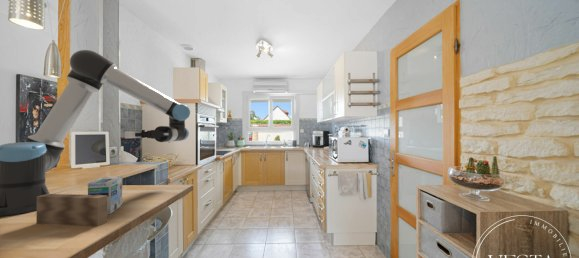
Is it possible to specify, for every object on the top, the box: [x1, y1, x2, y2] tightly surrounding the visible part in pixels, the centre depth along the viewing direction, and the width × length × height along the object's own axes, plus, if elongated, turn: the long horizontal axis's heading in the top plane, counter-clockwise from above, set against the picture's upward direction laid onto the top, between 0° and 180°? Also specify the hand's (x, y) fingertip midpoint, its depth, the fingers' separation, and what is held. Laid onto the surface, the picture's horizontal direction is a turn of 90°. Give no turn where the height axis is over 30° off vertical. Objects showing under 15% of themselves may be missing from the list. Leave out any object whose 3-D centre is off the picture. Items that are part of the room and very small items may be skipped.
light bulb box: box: [87, 176, 123, 215], centre depth 81 cm, size 11×7×11 cm, turn 18°
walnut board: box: [35, 193, 108, 227], centre depth 70 cm, size 20×3×8 cm, turn 84°
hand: (126, 134), depth 89 cm, fingers closed
